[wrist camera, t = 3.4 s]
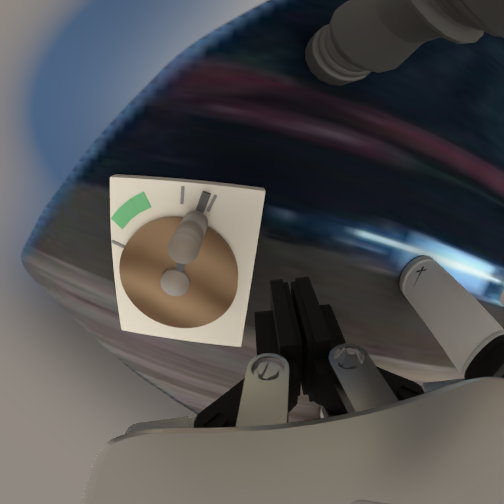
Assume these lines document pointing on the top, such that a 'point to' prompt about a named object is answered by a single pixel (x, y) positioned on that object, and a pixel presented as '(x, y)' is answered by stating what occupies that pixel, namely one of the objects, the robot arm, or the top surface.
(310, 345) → the robot arm
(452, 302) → the travel mug
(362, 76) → the candle holder
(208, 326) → the dial plate
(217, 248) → the dial
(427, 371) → the top surface
